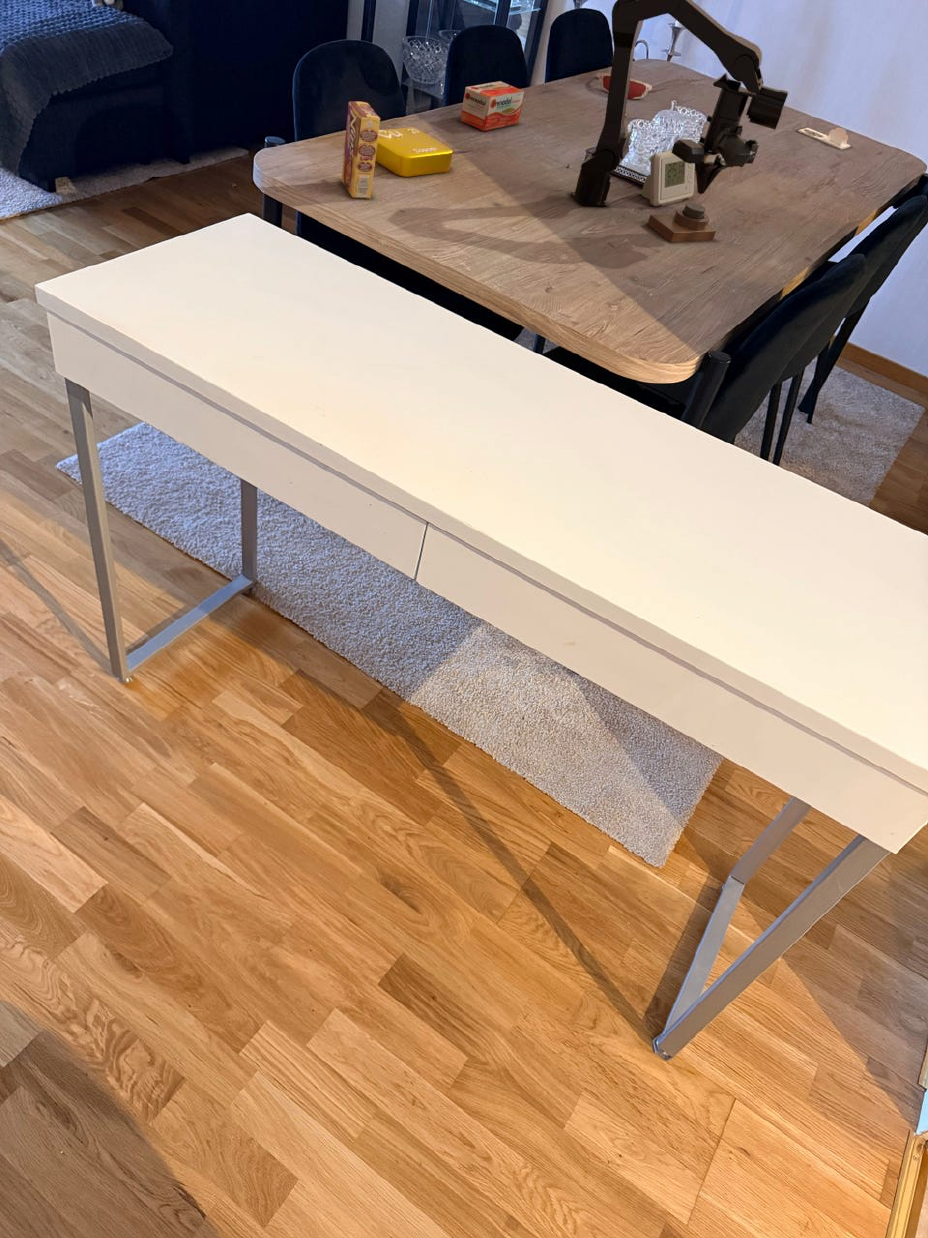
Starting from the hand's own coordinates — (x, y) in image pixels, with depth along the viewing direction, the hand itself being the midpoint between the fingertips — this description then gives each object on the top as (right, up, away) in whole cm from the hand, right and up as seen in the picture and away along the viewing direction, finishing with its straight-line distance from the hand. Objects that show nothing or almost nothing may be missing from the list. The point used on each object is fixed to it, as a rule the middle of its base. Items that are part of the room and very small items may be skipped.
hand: (700, 193), depth 198 cm
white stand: (+59, +54, +82) cm, 115 cm away
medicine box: (-45, +34, +36) cm, 67 cm away
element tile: (-64, +10, +6) cm, 65 cm away
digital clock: (-4, +7, +19) cm, 20 cm away
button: (-1, -3, +3) cm, 5 cm away
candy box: (-73, -4, -10) cm, 74 cm away
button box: (-3, -6, +5) cm, 9 cm away
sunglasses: (-3, +69, +81) cm, 107 cm away
